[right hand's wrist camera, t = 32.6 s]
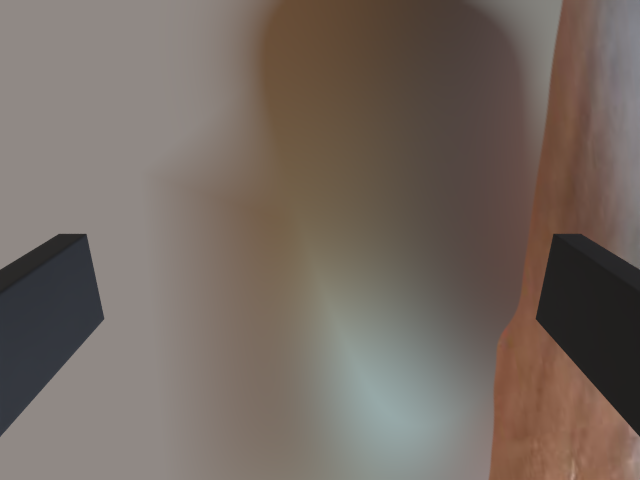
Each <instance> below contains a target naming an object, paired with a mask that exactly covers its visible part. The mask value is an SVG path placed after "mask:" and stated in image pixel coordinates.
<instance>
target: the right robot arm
mask: <svg viewBox="0 0 640 480" xmlns="http://www.w3.org/2000/svg"><path fill="white" fill-rule="evenodd" d="M103 320H104V316H103V311H102V306H101V301H100V296H99V292H98V287H97V282H96V277H95V272H94V268H93V263H92V258H91V254H90V249H89V244H88V239H87V235H86V234H58V235H57V236H55V237H53V238H52V239H50V240H48V241H47V242H45V243H44V244H42V245H40V246H39V247H37V248H35V249H34V250H32V251H30V252H29V253H27V254H25V255H24V256H22V257H21V258H19V259H17V260H16V261H14V262H12V263H11V264H9V265H7V266H6V267H4V268H2V269H1V270H0V436H1V435H2V434H3V433H4V432H5V431H6V429H7V428H8V427H9V426H10V425H11V424H12V423H13V422H14V420H15V419H16V418H17V417H18V416H19V415H20V414H21V413H22V411H23V410H24V409H25V408H26V407H27V406H28V405H29V404H30V402H31V401H32V400H33V399H34V398H35V397H36V396H37V394H38V393H39V392H40V391H41V390H42V389H43V388H44V387H45V385H46V384H47V383H48V382H49V381H50V380H51V379H52V377H53V376H54V375H55V374H56V373H57V372H58V371H59V370H60V368H61V367H62V366H63V365H64V364H65V363H66V362H67V360H68V359H69V358H70V357H71V356H72V355H73V354H74V353H75V351H76V350H77V349H78V348H79V347H80V346H81V345H82V344H83V342H84V341H85V340H86V339H87V338H88V337H89V336H90V335H91V333H92V332H93V331H94V330H95V329H96V328H97V327H98V325H99V324H100V323H101V322H102V321H103ZM536 320H537V321H538V322H539V323H540V324H541V325H542V327H543V328H544V329H545V330H546V331H547V332H548V333H549V335H550V336H551V337H552V338H553V339H554V340H555V341H556V342H557V344H558V345H559V346H560V347H561V348H562V349H563V350H564V351H565V353H566V354H567V355H568V356H569V357H570V358H571V359H572V361H573V362H574V363H575V364H576V365H577V366H578V367H579V368H580V370H581V371H582V372H583V373H584V374H585V375H586V376H587V378H588V379H589V380H590V381H591V382H592V383H593V384H594V385H595V387H596V388H597V389H598V390H599V391H600V392H601V393H602V394H603V396H604V397H605V398H606V399H607V400H608V401H609V402H610V404H611V405H612V406H613V407H614V408H615V409H616V410H617V411H618V413H619V414H620V415H621V416H622V417H623V418H624V419H625V420H626V422H627V423H628V424H629V425H630V426H631V427H632V428H633V430H634V431H635V432H636V433H637V434H638V435H639V436H640V270H639V269H638V268H636V267H634V266H633V265H631V264H629V263H628V262H626V261H624V260H623V259H621V258H619V257H618V256H616V255H615V254H613V253H611V252H610V251H608V250H606V249H605V248H603V247H601V246H600V245H598V244H597V243H595V242H593V241H592V240H590V239H588V238H587V237H585V236H583V235H582V234H553V239H552V244H551V249H550V253H549V258H548V263H547V268H546V272H545V277H544V282H543V287H542V292H541V296H540V301H539V306H538V311H537V315H536Z"/></svg>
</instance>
